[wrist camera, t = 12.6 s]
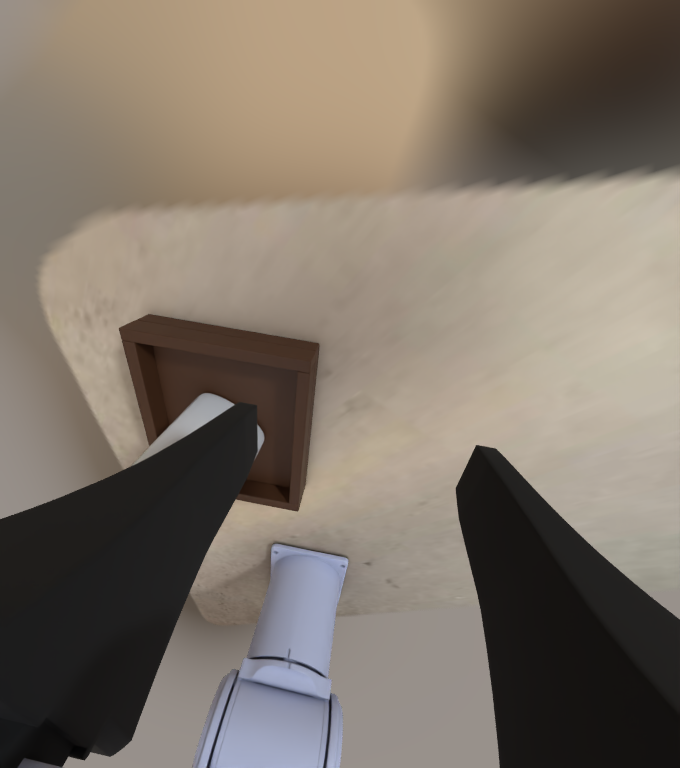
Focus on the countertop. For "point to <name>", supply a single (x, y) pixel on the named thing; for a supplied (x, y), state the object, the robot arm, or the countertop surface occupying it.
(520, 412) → the countertop surface
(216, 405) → the eye dropper bottle
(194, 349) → the tray
